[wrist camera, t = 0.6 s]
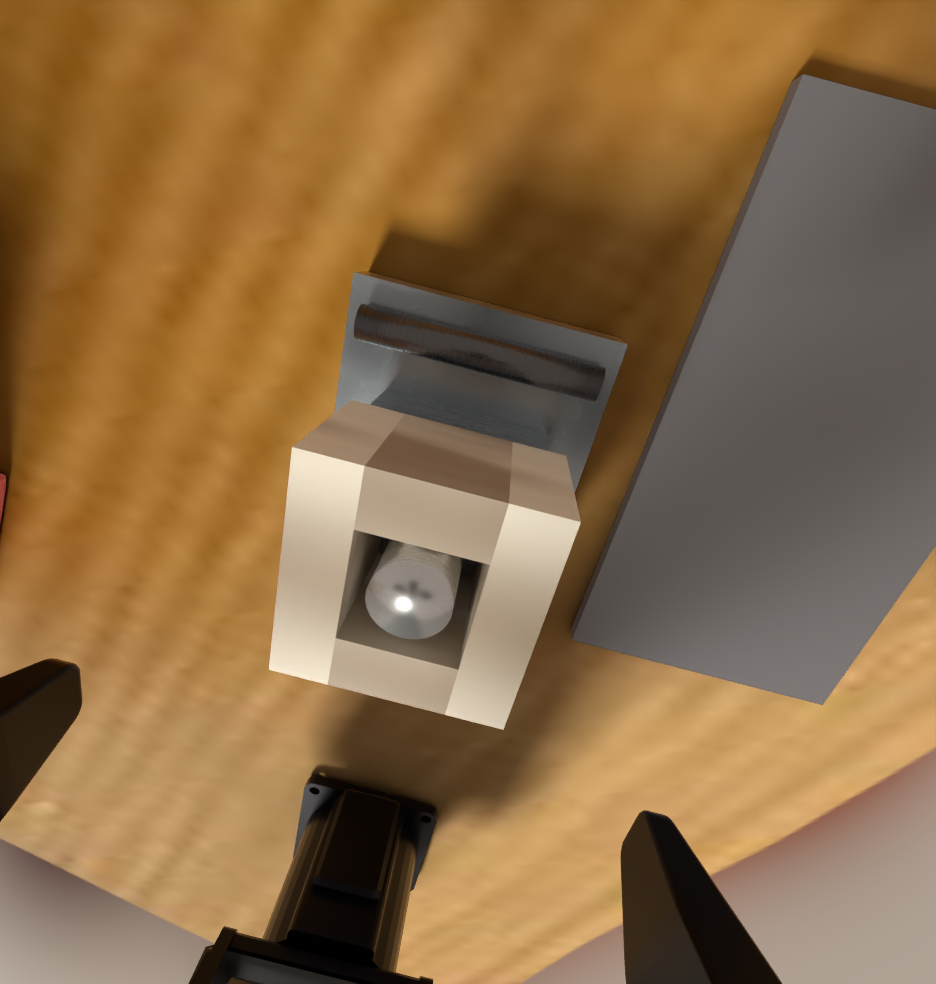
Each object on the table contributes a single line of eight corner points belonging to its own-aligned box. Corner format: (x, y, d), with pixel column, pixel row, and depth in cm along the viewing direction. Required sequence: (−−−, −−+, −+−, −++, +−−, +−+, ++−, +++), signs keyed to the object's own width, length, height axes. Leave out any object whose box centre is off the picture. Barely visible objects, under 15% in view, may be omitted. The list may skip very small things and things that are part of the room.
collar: (507, 628, 17) (503, 730, 13) (324, 580, 17) (268, 669, 13) (566, 455, 14) (581, 522, 11) (351, 399, 14) (292, 447, 11)
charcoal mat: (814, 693, 21) (822, 704, 20) (570, 630, 21) (571, 640, 20) (1168, 182, 13) (1195, 178, 13) (791, 81, 13) (803, 73, 13)
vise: (514, 637, 21) (509, 815, 14) (321, 587, 21) (224, 742, 14) (619, 337, 16) (688, 392, 9) (368, 271, 16) (253, 277, 9)
